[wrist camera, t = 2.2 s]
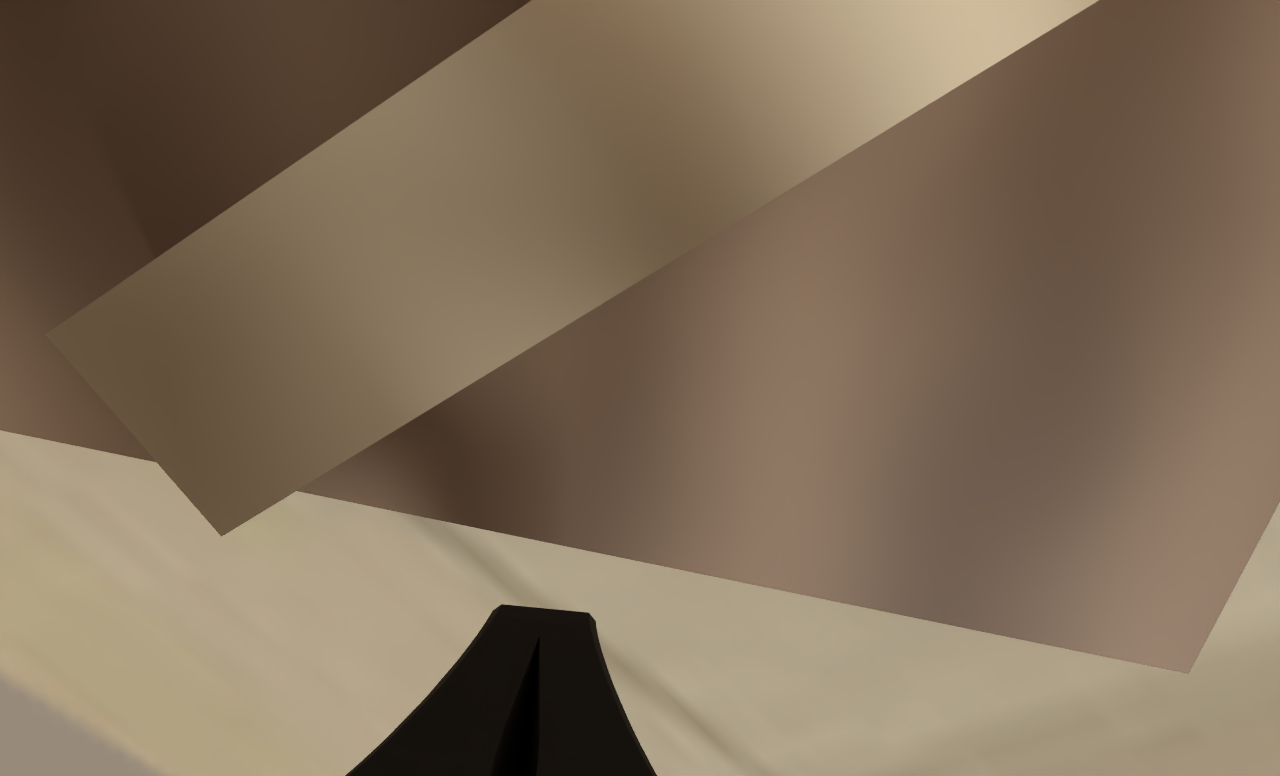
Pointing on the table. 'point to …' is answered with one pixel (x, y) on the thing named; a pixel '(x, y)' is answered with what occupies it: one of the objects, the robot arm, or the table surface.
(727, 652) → the table surface
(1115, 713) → the table surface
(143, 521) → the table surface
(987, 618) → the walnut board
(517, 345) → the wooden link
